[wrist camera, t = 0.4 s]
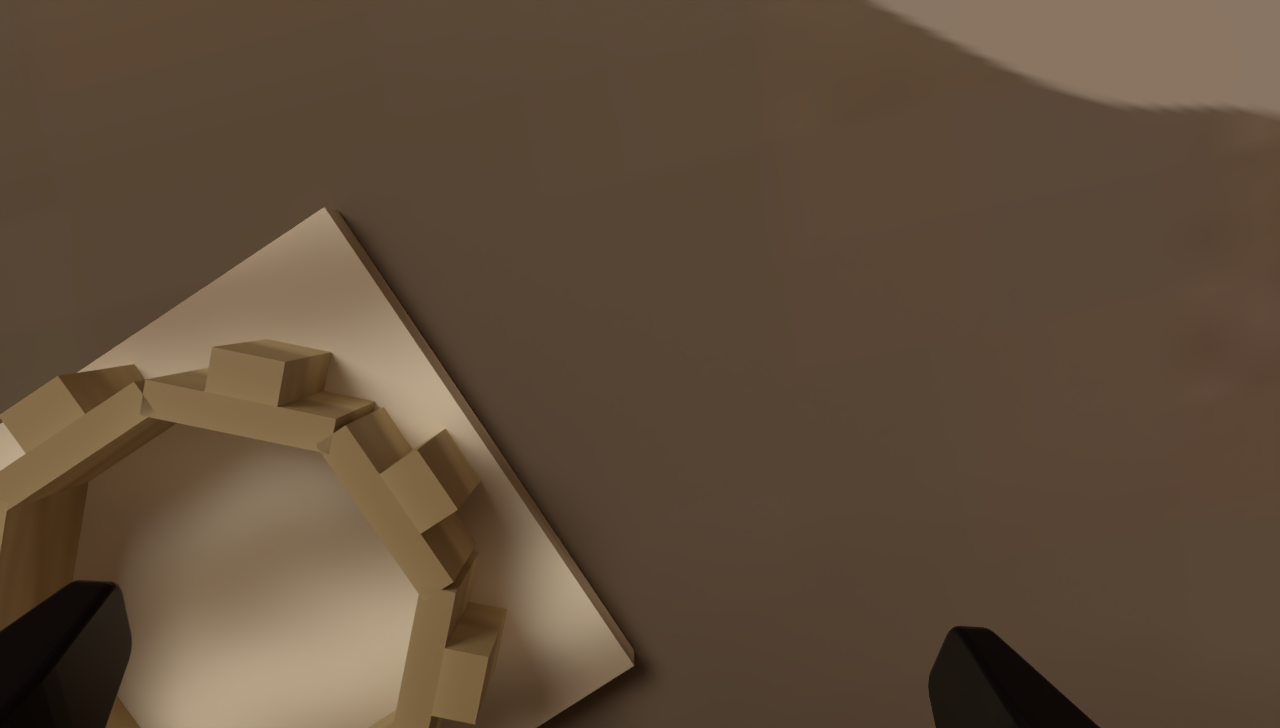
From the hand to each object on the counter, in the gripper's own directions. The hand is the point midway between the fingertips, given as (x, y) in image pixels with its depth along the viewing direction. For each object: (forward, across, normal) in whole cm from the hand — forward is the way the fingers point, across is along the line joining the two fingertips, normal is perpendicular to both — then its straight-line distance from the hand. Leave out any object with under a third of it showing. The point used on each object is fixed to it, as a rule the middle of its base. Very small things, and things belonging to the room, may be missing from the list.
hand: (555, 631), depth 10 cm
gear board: (+11, +7, +11) cm, 17 cm away
